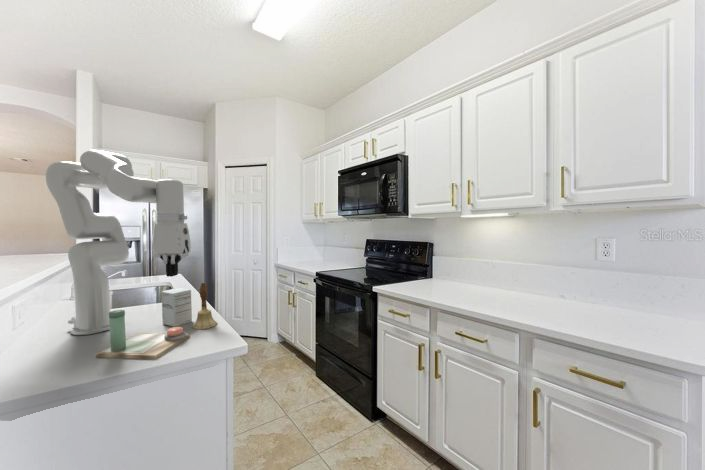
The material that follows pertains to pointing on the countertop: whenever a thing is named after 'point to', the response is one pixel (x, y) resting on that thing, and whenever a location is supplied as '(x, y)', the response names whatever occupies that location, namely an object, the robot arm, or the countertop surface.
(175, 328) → the button
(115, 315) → the green cylinder
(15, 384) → the countertop surface
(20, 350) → the countertop surface
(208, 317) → the hand bell
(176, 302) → the supplement box
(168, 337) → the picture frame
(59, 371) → the countertop surface
